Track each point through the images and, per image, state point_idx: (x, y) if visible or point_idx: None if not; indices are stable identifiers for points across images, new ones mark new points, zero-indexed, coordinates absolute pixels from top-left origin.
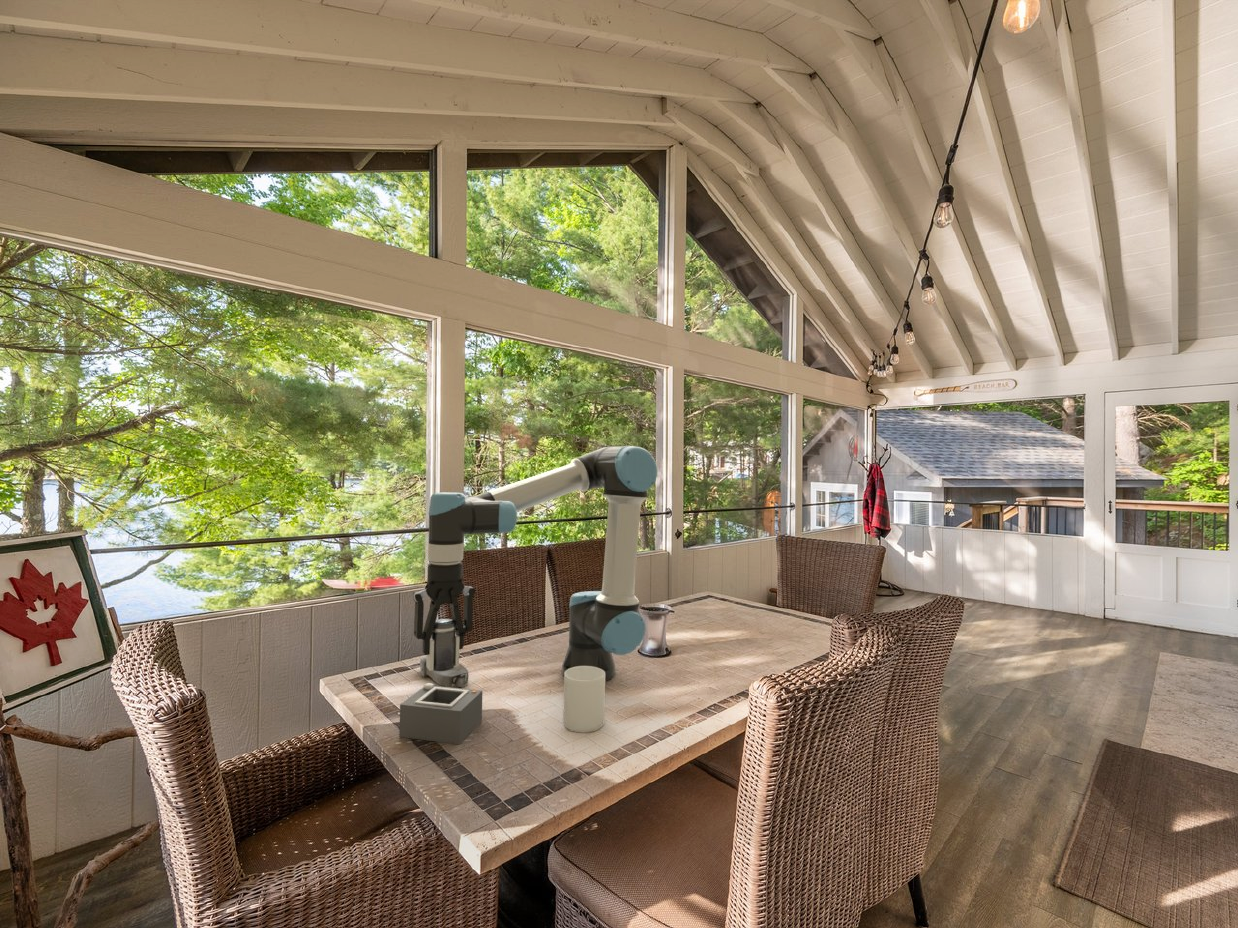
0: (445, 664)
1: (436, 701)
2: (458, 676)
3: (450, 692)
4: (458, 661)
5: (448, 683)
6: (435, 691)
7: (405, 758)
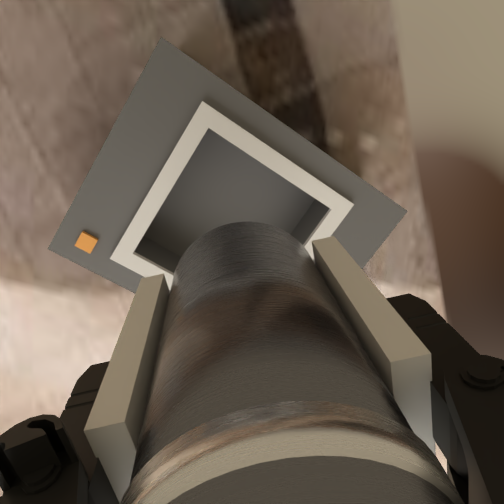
0: (237, 236)
1: None
2: None
3: None
4: (140, 291)
5: None
6: None
7: (362, 15)
